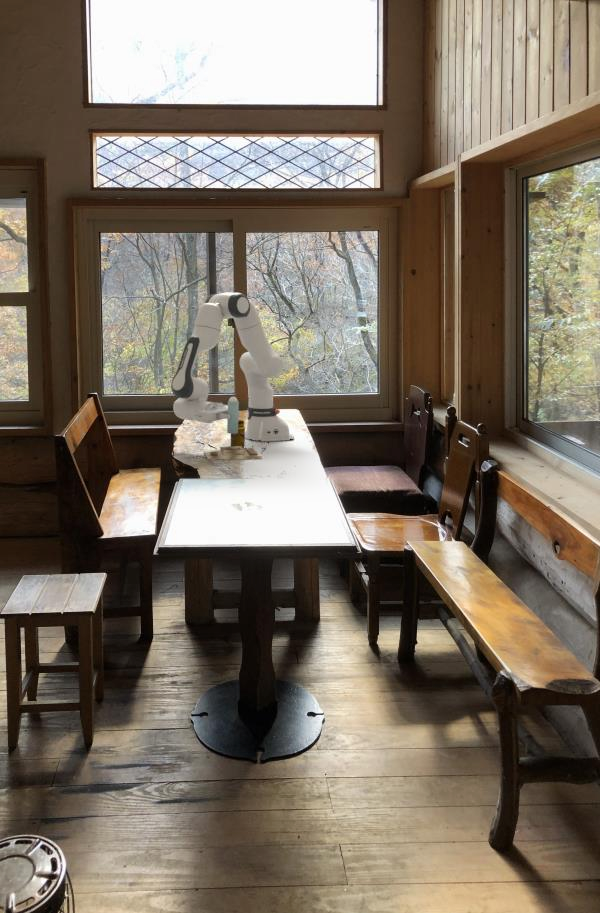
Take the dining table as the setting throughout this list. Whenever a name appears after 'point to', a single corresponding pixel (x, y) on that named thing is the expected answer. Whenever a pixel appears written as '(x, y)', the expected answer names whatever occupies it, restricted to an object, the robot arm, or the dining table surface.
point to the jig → (232, 453)
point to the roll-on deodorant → (233, 415)
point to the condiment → (238, 436)
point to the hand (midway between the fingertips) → (234, 415)
